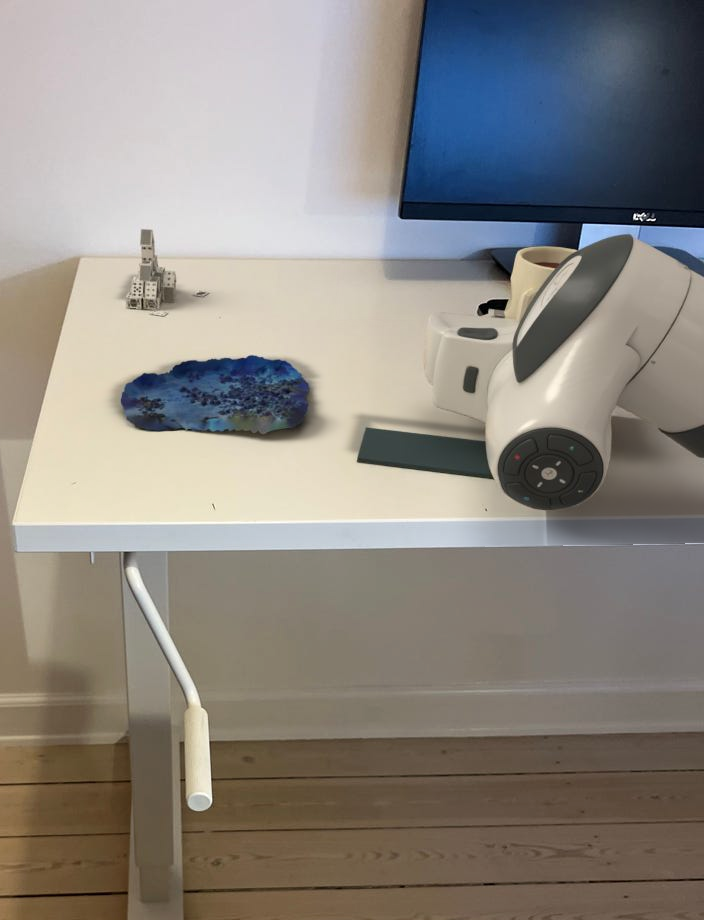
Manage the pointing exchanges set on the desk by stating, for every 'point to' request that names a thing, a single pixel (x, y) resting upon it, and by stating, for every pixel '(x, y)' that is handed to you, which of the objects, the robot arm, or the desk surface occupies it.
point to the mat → (424, 452)
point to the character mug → (531, 276)
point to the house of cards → (152, 280)
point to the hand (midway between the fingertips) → (541, 322)
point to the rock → (218, 396)
